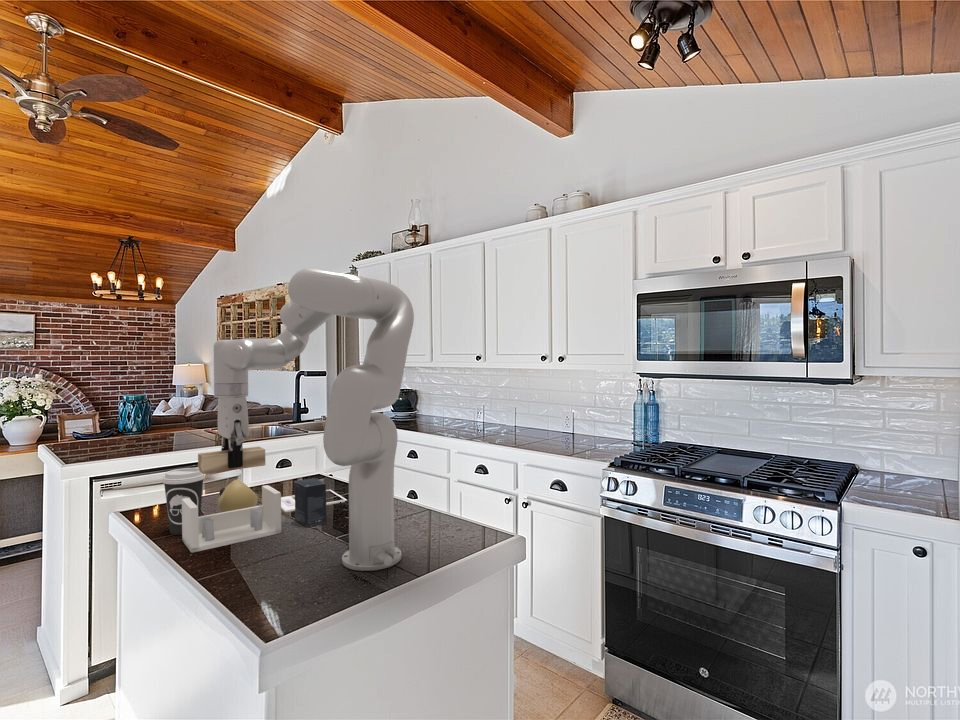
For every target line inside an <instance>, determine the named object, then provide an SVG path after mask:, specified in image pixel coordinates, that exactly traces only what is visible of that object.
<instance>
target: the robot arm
mask: <svg viewBox="0 0 960 720" xmlns="http://www.w3.org/2000/svg"><path fill="white" fill-rule="evenodd" d="M287 294H288V297H289V299H290V300H289V301H288V302H286V303H285V304H283V306H282V307H281V309H280V311H279V318H280V321H281V323H282V325H283V326H284V328H285V329H284V330H283V331H282V332H281V333H280V334H278V335H277V336H275V337H274V338H257V337H256V338H254V337H253V338H247V337H245V338H240V339H218V340H216V341H215V342H214V344H213V398H218V399H217V400H218V401H217V432H218V435H219V436H221V449H220V451H225V450H229V451H228V468H238V467H242V466H243V448H244V447H243V446H244V445H243V442H244V438H248V437H249V436H250V430H249V429H250V426H249V411H248V402H247V397H249V371H264V370H267V371H268V370H278V369H281V368H283V367H285V366H286V365H288V364H290V363H291V362H292V361H293V360H294V359H296V358H297V357H298V356H299V355H301V354H303V352H304V350H305V349H306V347H307V345H308V342H309V340H310V335H311V334H312V333H314V332H315V331H316V330H318V328H320V327H322V325H323V324H325V323H326V322H327V321H328V320H329V319H331V318H332V317H334V316H338V317H344V318H349V319H359V320H360V319H363V320H373V321H374V322H376V324H375V327H374V328H373V330H372V332H371V333H370V334H369V335H370V336H369V338H368V339H367V344H366V351H365V356H364V359H363V362H362V364H355V365H350V366H348V367H345V368H344V369H343V370H342V371H340V372H339V374H338V375H337V376H336V378H335V380H334V381H333V384H332V386H331V391H330V397H329V402H328V407H327V412H326V413H327V414H326V419H325V424H324V430H323V437H322V438H323V449H324V452H325V453H324V454H325V455H326V457H327V458H328V460H329V461H331V462H332V464H334V465H337V466H341V467H349V466H350V469H349V475H348V550H346V551H345V552H344V553H343V554H342V555H341V563H342V565H343V566H344V567H345V568H347V569H350V570H354V571H357V572H359V571H360V572H373V571H379V570H384V569H387V568H391V567H393V566H394V565H397V564H398V563H399V562H400V561H401V560H402V550H401V549H400V548H399V547H398V546H396V542H395V498H394V497H395V495H394V494H395V489H394V487H395V459H396V453H397V452H396V451H397V447H398V430H397V427H396V424H395V422H394V421H393V420H392V418H390V417H389V416H388V415H386V414H384V413H381V412H372V411H376V410H382V409H385V408H388V407H390V406H392V405H394V404H395V403H396V402H397V400H398V399H399V396H400V392H401V388H402V383H403V377H404V372H405V367H406V361H407V355H408V350H409V344H410V340H411V336H412V331H413V327H414V323H415V322H414V320H415V318H414V317H415V313H414V309H413V305H412V303H411V300H410V298H409V297H408V296H407V294H406V293H405V292H404V291H403V290H402V289H400V288H399V287H398V286H396V285H394V284H392V283H390V282H387V281H383V280H379V279H375V278H368V277H365V276H359V275H355V274H347V273H342V272H336V271H327V270H322V269H317V268H313V267H307V268H306V267H305V268H302V269H300V270H299V271H296V272H295V273H294V274H293V275H292V276H291V279H290V280H289V283H288V286H287Z"/></svg>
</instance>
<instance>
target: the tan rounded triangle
mask: <svg viewBox="0 0 960 720" xmlns="http://www.w3.org/2000/svg"><path fill="white" fill-rule="evenodd" d="M258 501H259V500H258V496H257V494H256V493H255V492H254V491H253V490H252V489H251V488H250V487H249V486H248V485H247V484H246V483H245V482H243V481H241V480H239V479H233V481H232V482H230V483H229V484H227V485H226V486H225V487H223V488H221V489H220V490H219V498H218V501H217V510H218V511H219V513H222V512H228V511H233V510H238V509H244V508H249V507H255V506H257V504H258Z"/></svg>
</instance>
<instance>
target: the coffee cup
mask: <svg viewBox="0 0 960 720" xmlns="http://www.w3.org/2000/svg"><path fill="white" fill-rule="evenodd" d="M205 479H206V474H202V473H201V472H200V471H198V467H184V468H177V469H176V468H175V469H172V470H169V471H166V472H165V475H164V476H163V478H162V480H161V483H162V484H163V485H164V492H165V493H164V494H165V499H166V508H167V518H168V525H169V527H168V528H169V533H170V534H171V535H178V536H179V535H182V499H185V498H189V499H190V500H191V501H192V502H193V503H194V504H195V505H196V506H197V507H198V517H200V516H201V513H202V511H201V510H202V498H203V487H204V486H203V485H204V480H205Z"/></svg>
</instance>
